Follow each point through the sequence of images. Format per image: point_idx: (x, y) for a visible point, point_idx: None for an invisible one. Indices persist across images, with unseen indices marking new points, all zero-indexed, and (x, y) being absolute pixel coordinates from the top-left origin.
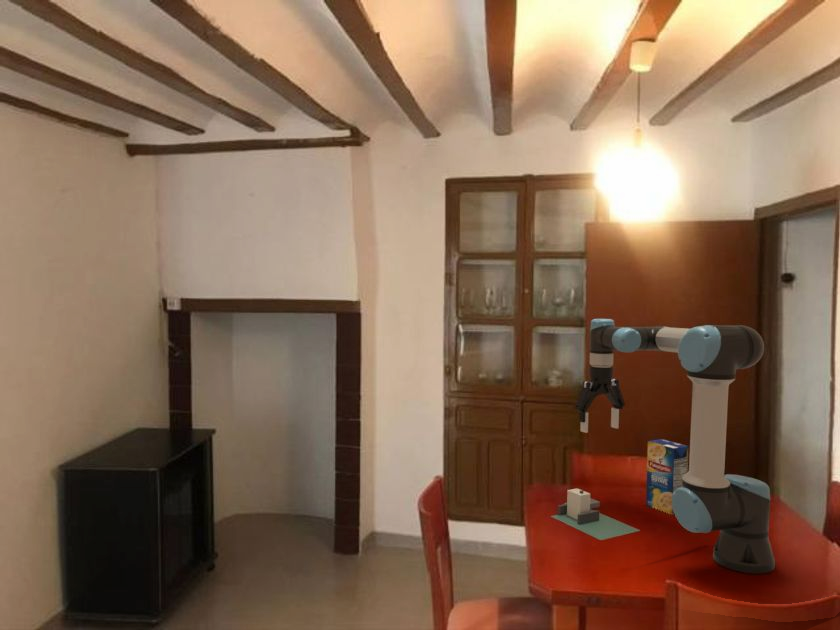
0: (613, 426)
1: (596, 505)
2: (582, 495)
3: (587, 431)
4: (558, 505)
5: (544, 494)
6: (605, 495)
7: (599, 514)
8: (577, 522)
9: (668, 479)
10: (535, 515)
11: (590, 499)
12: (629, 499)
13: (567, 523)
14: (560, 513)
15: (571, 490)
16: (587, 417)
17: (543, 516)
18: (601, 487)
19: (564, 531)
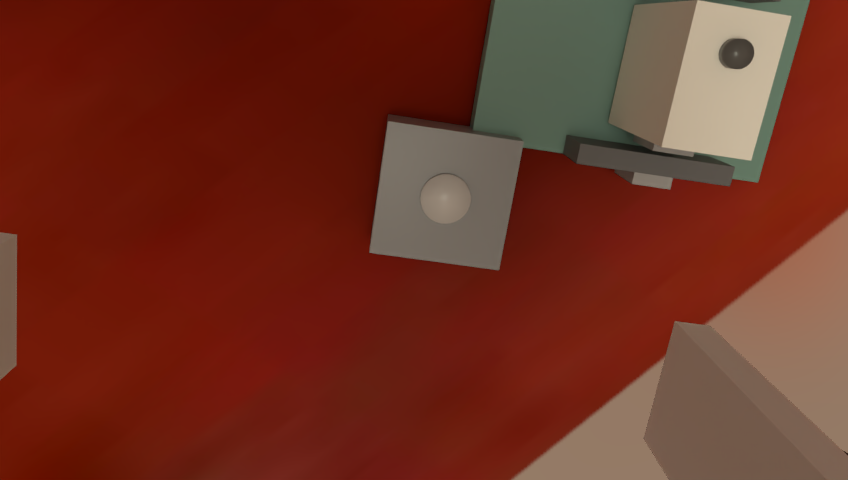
0: (4, 320)
1: (416, 123)
2: (772, 13)
3: (692, 329)
4: (728, 184)
5: (418, 474)
6: (125, 273)
7: (511, 25)
8: (755, 2)
9: None
10: (731, 281)
11: (396, 189)
12: (48, 138)
13: (787, 44)
14: (712, 158)
15: (736, 137)
16: (831, 464)
17: (712, 246)
18: (26, 380)
19: (824, 21)
